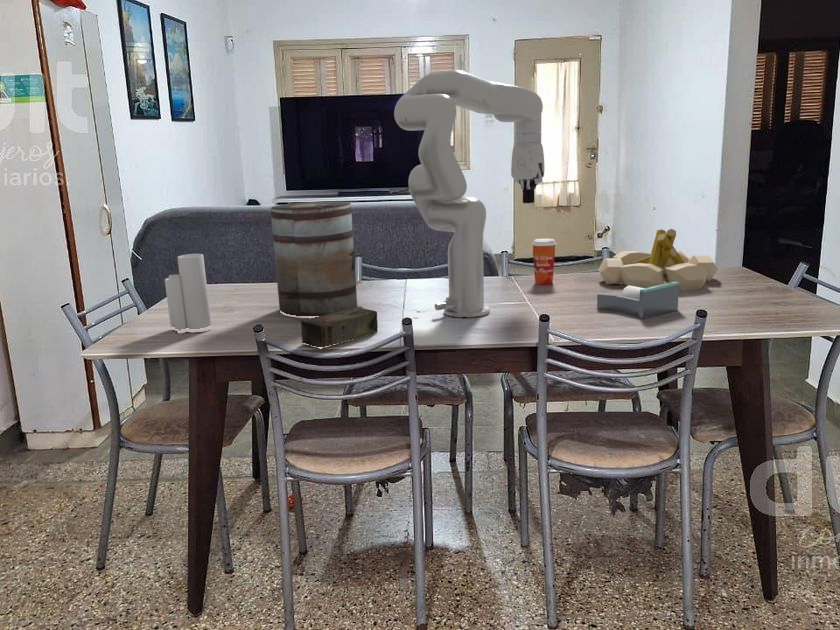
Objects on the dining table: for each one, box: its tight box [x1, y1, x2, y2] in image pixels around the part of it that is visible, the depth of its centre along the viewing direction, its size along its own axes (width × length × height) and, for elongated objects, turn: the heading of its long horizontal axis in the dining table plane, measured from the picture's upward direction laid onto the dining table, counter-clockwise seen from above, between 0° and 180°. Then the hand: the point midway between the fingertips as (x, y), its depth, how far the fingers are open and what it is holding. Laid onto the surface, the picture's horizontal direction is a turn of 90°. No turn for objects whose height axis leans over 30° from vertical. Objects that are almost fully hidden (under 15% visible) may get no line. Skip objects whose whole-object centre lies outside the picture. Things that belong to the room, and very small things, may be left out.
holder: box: [596, 282, 680, 319], centre depth 194 cm, size 14×16×8 cm
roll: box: [620, 285, 644, 300], centre depth 193 cm, size 10×6×6 cm, turn 34°
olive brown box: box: [300, 306, 379, 347], centre depth 177 cm, size 8×19×7 cm, turn 137°
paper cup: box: [531, 238, 558, 286], centre depth 230 cm, size 8×8×14 cm
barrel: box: [269, 201, 358, 316], centre depth 206 cm, size 22×22×30 cm
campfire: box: [598, 228, 719, 292], centre depth 227 cm, size 35×34×17 cm
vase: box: [164, 253, 212, 330], centre depth 189 cm, size 11×7×20 cm, turn 85°
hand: (528, 202), depth 214 cm, fingers closed
